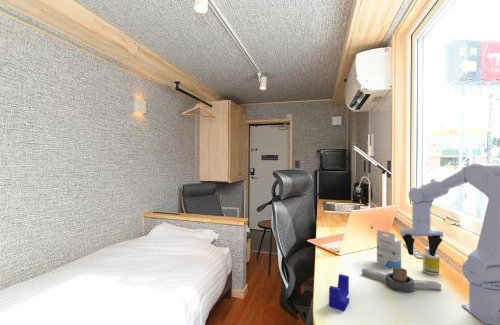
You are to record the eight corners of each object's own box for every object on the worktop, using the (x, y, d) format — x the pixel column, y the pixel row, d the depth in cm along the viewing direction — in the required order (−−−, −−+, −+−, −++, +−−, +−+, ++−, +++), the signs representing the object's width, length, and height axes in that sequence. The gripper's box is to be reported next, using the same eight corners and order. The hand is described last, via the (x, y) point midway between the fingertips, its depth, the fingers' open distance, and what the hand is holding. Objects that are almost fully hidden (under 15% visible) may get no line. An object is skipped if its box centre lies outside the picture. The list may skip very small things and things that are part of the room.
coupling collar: (447, 295, 85) (447, 286, 85) (374, 290, 88) (374, 281, 88) (422, 276, 99) (422, 268, 99) (361, 273, 102) (361, 265, 102)
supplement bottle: (442, 275, 100) (442, 250, 100) (426, 274, 101) (426, 249, 102) (435, 270, 106) (435, 246, 106) (420, 269, 107) (420, 245, 107)
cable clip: (344, 312, 75) (344, 291, 75) (329, 307, 77) (329, 287, 77) (353, 295, 85) (353, 277, 85) (339, 291, 87) (339, 273, 87)
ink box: (401, 267, 109) (401, 232, 109) (394, 269, 106) (395, 234, 106) (382, 260, 116) (383, 228, 116) (376, 262, 114) (376, 229, 114)
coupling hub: (409, 289, 88) (409, 272, 88) (395, 288, 89) (396, 271, 89) (402, 283, 93) (402, 267, 93) (389, 282, 94) (389, 266, 94)
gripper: (435, 217, 100) (435, 252, 100) (396, 216, 102) (396, 250, 101) (446, 221, 93) (446, 258, 93) (405, 220, 95) (405, 256, 94)
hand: (421, 254), depth 97 cm, fingers open, 7 cm apart
